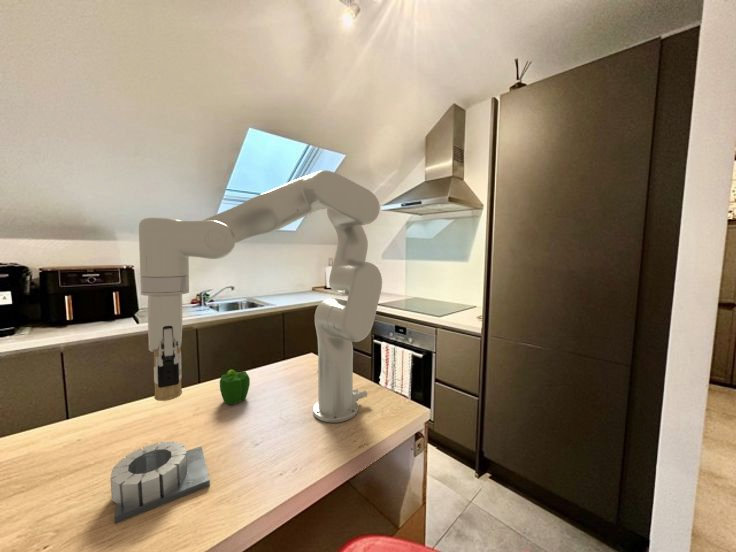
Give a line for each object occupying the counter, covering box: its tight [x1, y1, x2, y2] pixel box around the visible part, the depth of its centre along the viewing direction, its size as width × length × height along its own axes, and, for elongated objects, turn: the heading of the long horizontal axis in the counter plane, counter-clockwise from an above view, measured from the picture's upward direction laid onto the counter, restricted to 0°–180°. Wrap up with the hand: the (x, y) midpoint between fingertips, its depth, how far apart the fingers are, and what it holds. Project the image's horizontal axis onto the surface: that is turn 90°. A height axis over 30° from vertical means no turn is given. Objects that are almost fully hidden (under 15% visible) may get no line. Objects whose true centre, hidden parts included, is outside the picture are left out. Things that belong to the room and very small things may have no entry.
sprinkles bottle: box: [153, 329, 183, 402], centre depth 58 cm, size 5×5×13 cm
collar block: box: [110, 441, 211, 524], centre depth 58 cm, size 15×12×5 cm
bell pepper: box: [219, 369, 251, 406], centre depth 90 cm, size 8×8×10 cm
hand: (168, 379), depth 58 cm, fingers closed on sprinkles bottle, 4 cm apart
